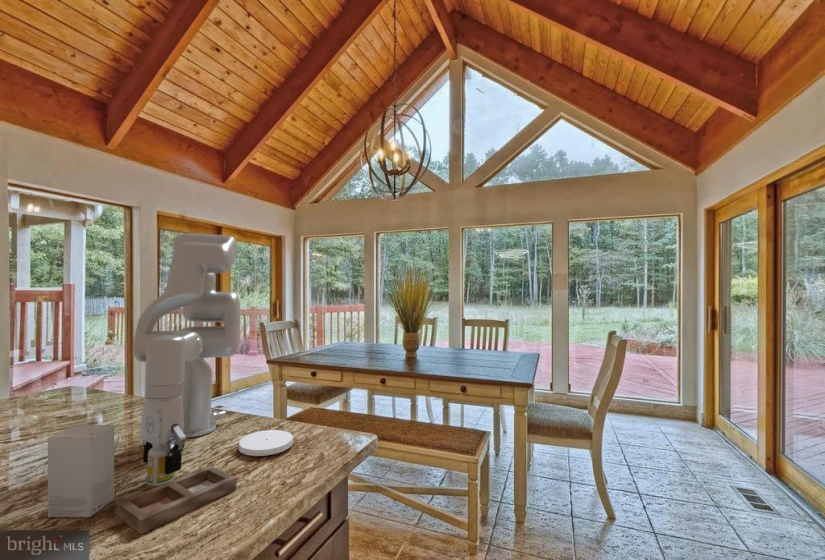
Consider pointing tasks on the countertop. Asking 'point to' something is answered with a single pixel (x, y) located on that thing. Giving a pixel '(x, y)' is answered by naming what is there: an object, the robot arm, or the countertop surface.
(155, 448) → the supplement bottle
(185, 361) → the robot arm
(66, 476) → the skincare box
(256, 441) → the plastic lid
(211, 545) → the countertop surface
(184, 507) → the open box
